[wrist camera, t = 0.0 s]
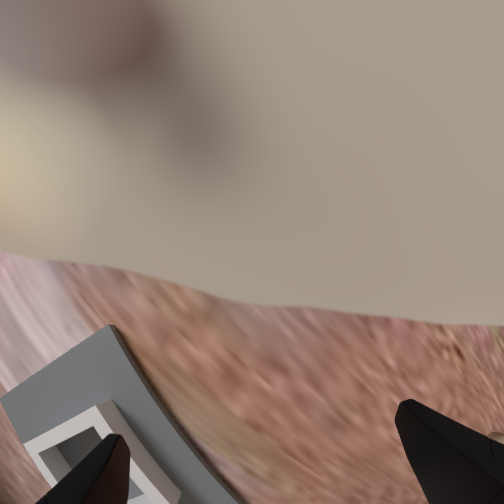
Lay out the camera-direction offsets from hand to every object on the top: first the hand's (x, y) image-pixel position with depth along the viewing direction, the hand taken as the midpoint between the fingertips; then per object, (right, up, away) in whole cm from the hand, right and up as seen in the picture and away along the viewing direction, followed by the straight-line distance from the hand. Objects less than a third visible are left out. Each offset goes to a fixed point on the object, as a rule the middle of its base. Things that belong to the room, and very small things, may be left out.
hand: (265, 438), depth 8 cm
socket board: (-13, -13, +11) cm, 21 cm away
